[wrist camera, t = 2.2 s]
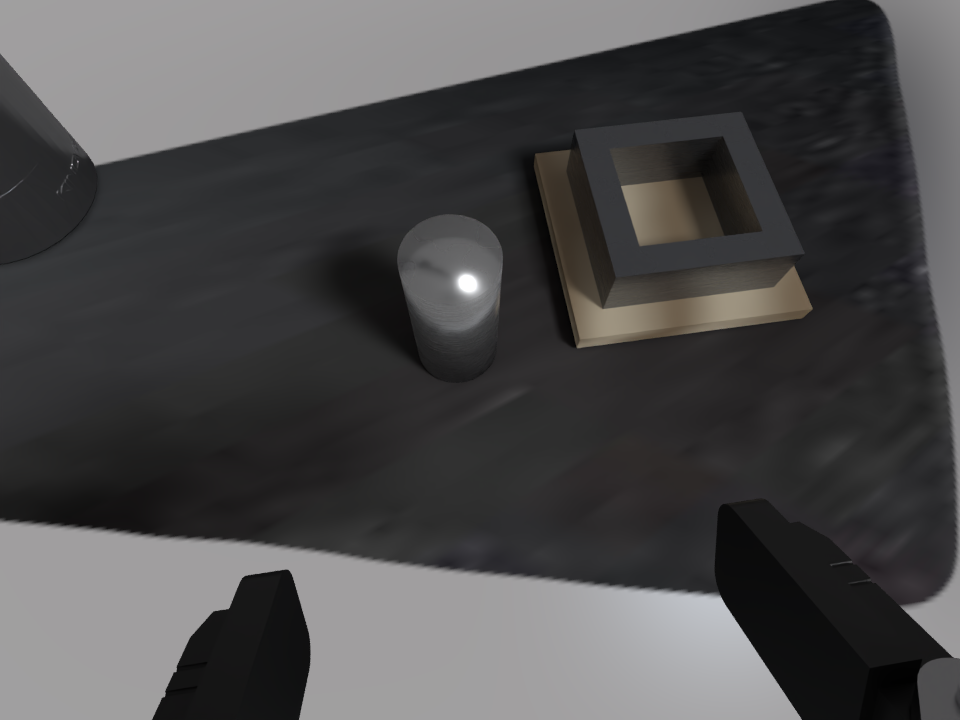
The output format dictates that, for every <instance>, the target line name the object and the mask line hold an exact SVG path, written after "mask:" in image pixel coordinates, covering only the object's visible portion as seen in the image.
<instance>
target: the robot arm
mask: <svg viewBox="0 0 960 720" xmlns="http://www.w3.org/2000/svg"><path fill="white" fill-rule="evenodd" d="M96 189H97V174H96V170H95V167H94V164H93V162H92V161H91V159H90V158H89V156H88V155H87V153H86V152H85V151H84V150H83V149H82V148H81V146H80V145H79V144H78V143H77V142H76V141H75V139H74V138H73V137H72V136H71V135H70V134H69V133H68V132H67V130H66V129H65V128H64V127H63V126H62V125H61V123H60V122H59V121H58V120H57V119H56V118H55V117H54V116H53V114H52V113H51V112H50V111H49V110H48V109H47V107H46V106H45V105H44V104H43V103H42V101H41V100H40V99H39V98H38V97H37V96H36V94H35V93H34V92H33V91H32V90H31V89H30V87H29V86H28V85H27V84H26V83H25V82H24V81H23V79H22V78H21V77H20V76H19V75H18V74H17V73H16V71H15V70H14V69H13V68H12V67H11V66H10V65H9V63H8V62H7V61H6V60H5V59H4V58H3V56H2V55H1V54H0V264H5V263H10V262H14V261H17V260H21V259H25V258H28V257H30V256H32V255H34V254H37V253H39V252H41V251H44V250H45V249H47V248H49V247H50V246H52V245H53V244H55V243H57V242H58V241H60V240H61V239H62V238H64V237H65V236H66V235H67V234H68V233H69V232H71V231H72V230H73V229H74V228H75V227H76V226H77V225H78V223H79V222H80V221H81V220H82V219H83V217H84V216H85V215H86V213H87V211H88V209H89V208H90V206H91V204H92V202H93V199H94V196H95V193H96ZM715 578H716V583H717V586H718V590H719V592H720V595H721V597H722V599H723V601H724V603H725V605H726V606H727V608H728V609H729V611H730V612H731V613H732V615H733V616H734V618H735V620H736V621H737V623H738V624H739V626H740V627H741V629H742V630H743V632H744V633H745V635H746V636H747V638H748V639H749V641H750V642H751V644H752V645H753V647H754V648H755V650H756V651H757V653H758V654H759V656H760V657H761V659H762V660H763V662H764V663H765V665H766V666H767V668H768V669H769V671H770V672H771V674H772V675H773V677H774V678H775V680H776V681H777V683H778V684H779V686H780V687H781V689H782V690H783V692H784V693H785V695H786V696H787V698H788V699H789V701H790V702H791V704H792V705H793V707H794V708H795V710H796V711H797V713H798V714H799V716H800V717H801V719H802V720H960V659H958V658H953V657H952V656H951V655H950V654H949V653H948V652H946V650H945V649H944V648H943V647H942V646H941V645H939V644H938V643H937V642H936V641H935V640H934V639H933V638H932V637H931V636H930V635H929V634H928V633H927V632H926V631H925V630H924V629H923V628H922V627H921V626H920V625H919V624H918V623H917V622H916V621H914V620H913V619H912V618H911V617H910V616H909V615H908V614H907V613H906V612H905V611H904V610H903V609H902V608H901V607H900V606H899V605H898V604H897V603H896V602H895V601H894V600H893V599H892V598H891V597H890V596H888V595H887V594H886V593H885V592H884V591H883V590H882V589H881V588H880V587H879V586H878V585H877V584H876V583H872V582H871V578H870V577H869V576H868V575H867V574H866V573H865V572H864V571H862V570H861V569H860V568H859V567H858V566H857V565H853V563H852V560H851V559H850V558H849V557H848V556H847V555H846V554H845V553H844V552H843V551H842V550H841V549H840V548H839V547H838V546H836V545H835V544H834V543H833V542H832V541H831V540H830V539H829V538H827V537H826V536H824V535H822V534H820V533H818V532H817V531H815V530H813V529H811V528H810V527H808V526H806V525H804V524H802V523H801V522H795V523H789V522H788V521H787V520H786V519H785V518H784V517H783V516H782V515H781V514H780V513H779V512H778V511H777V510H776V509H775V508H774V507H773V506H772V505H771V504H770V503H769V502H768V501H767V500H765V499H754V500H748V501H741V502H735V503H728V504H723V505H721V506H720V508H719V511H718V521H717V536H716V552H715ZM309 668H310V638H309V632H308V629H307V625H306V622H305V618H304V615H303V611H302V608H301V604H300V601H299V597H298V594H297V590H296V587H295V583H294V580H293V577H292V574H291V573H290V571H289V570H281V571H274V572H268V573H261V574H254V575H248V576H245V577H243V578H242V580H241V582H240V584H239V586H238V588H237V591H236V593H235V596H234V598H233V601H232V604H231V606H230V608H229V609H226V610H220V611H214V612H213V613H212V614H211V615H210V616H209V617H208V618H207V619H206V621H205V622H204V623H203V624H202V625H201V626H200V627H199V628H198V630H197V631H196V632H195V633H194V634H193V635H192V636H191V638H190V639H189V641H188V643H187V645H186V648H185V650H184V652H183V654H182V656H181V658H180V661H179V663H178V665H177V672H174V674H173V676H172V678H171V680H170V682H169V684H168V687H167V689H166V691H165V692H166V695H165V697H163V698H162V700H161V702H160V704H159V706H158V708H157V710H156V712H155V715H154V717H153V719H152V720H299V717H300V711H301V706H302V702H303V697H304V693H305V687H306V683H307V678H308V673H309Z"/></svg>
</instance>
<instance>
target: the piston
mask: <svg viewBox="0 0 960 720" xmlns="http://www.w3.org/2000/svg"><path fill="white" fill-rule="evenodd" d="M502 263H503V255H502V249H501V245H500V243H499V241H498V239H497V237H496V236H495V234H494V233H493V232H492V231H491V230H490V229H489V228H488V227H487V226H485V225H484V224H483V223H481V222H479V221H477V220H475V219H473V218H470V217H466V216H462V215H451V214H450V215H440V216H436V217H432V218H429V219H427V220H425V221H423V222H421V223H419V224H418V225H416V226H415V227H414V228H412V229H411V230H410V231H409V232H408V234H407V235H406V236H405V237H404V239H403V241H402V243H401V245H400V247H399V251H398V256H397V264H398V270H399V274H400V278H401V282H402V286H403V291H404V295H405V299H406V303H407V307H408V311H409V316H410V320H411V324H412V328H413V332H414V337H415V341H416V345H417V349H418V353H419V357H420V360H421V362H422V364H423V366H424V367H425V368H426V370H427V371H428V372H429V373H431V374H432V375H433V376H435V377H436V378H438V379H441V380H443V381H447V382H453V383H460V382H467V381H470V380H473V379H475V378H477V377H479V376H480V375H482V374H483V373H484V372H485V371H486V370H487V369H488V368H489V367H490V365H491V364H492V362H493V360H494V358H495V355H496V347H497V333H498V319H499V305H500V291H501V277H502Z"/></svg>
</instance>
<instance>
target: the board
mask: <svg viewBox="0 0 960 720" xmlns="http://www.w3.org/2000/svg"><path fill="white" fill-rule="evenodd" d="M569 155H570V150H564V151H555V152H546V153H537V154H535V161H534V169H535V173H536V177H537V182H538V186H539V190H540V194H541V198H542V203H543V207H544V211H545V215H546V220H547V224H548V228H549V232H550V237H551V241H552V245H553V249H554V254H555V258H556V262H557V266H558V271H559V275H560V279H561V283H562V288H563V292H564V296H565V300H566V305H567V309H568V313H569V317H570V322H571V326H572V330H573V334H574V338H575V343H576V347H577V348H582V347H589V346H597V345H604V344H612V343H619V342H627V341H634V340H642V339H650V338H657V337H665V336H672V335H680V334H687V333H695V332H702V331H710V330H717V329H725V328H732V327H740V326H747V325H755V324H762V323H770V322H777V321H785V320H792V319H800V318H803V317H804V316H805V315H806V314H808V313H809V312H810V311H811V310H812V306H811V304H810V302H809V299H808V297H807V295H806V292H805V290H804V288H803V285H802V283H801V281H800V279H799V276H798V274H797V272H796V269H795V267H794V266H793V267H792V268H791V269H790V270H789V271H788V272H787V273H786V275H785V276H784V277H783V278H782V279H781V280H780V281H779V282H778V283H777V284H776V285H775V286H774V287H771V288H764V289H756V290H748V291H740V292H733V293H725V294H717V295H709V296H702V297H694V298H686V299H678V300H671V301H663V302H655V303H647V304H640V305H632V306H624V307H617V308H609V309H603V308H602V304H601V301H600V297H599V293H598V289H597V286H596V282H595V278H594V274H593V270H592V267H591V263H590V259H589V255H588V251H587V248H586V244H585V240H584V236H583V233H582V229H581V225H580V221H579V217H578V214H577V210H576V206H575V202H574V198H573V195H572V191H571V187H570V183H569V179H568V176H567V172H566V170H567V165H568V160H569ZM621 188H622V191H623V194H624V197H625V201H626V204H627V207H628V210H629V214H630V217H631V220H632V223H633V226H634V230H635V233H636V236H637V239H638V243H639V246H647V245H655V244H663V243H671V242H679V241H688V240H696V239H704V238H712V237H720V236H724V233H723V230H722V228H721V225H720V223H719V220H718V217H717V215H716V212H715V210H714V207H713V204H712V202H711V199H710V197H709V194H708V191H707V189H706V186H705V184H704V181H703V178H702V177H695V178H687V179H678V180H669V181H661V182H652V183H644V184H635V185H626V186H621Z"/></svg>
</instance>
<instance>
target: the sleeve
mask: <svg viewBox="0 0 960 720" xmlns="http://www.w3.org/2000/svg"><path fill="white" fill-rule="evenodd" d="M566 172H567V176H568V179H569V183H570V187H571V191H572V195H573V198H574V202H575V206H576V210H577V214H578V217H579V221H580V225H581V229H582V233H583V236H584V240H585V244H586V248H587V251H588V255H589V259H590V263H591V267H592V270H593V274H594V278H595V282H596V286H597V289H598V293H599V297H600V301H601V304H602V308H603V309H609V308H617V307H624V306H632V305H640V304H647V303H655V302H663V301H671V300H678V299H686V298H694V297H702V296H709V295H717V294H725V293H733V292H740V291H748V290H756V289H764V288H771V287H774V286H775V285H776V284H777V283H778V282H779V281H780V280H781V279H782V278H783V277H784V276H785V275H786V273H787V272H788V271H789V270H790V269H791V268H792V267H793V266H794V265H795V264H796V263H797V262H798V261H799V260H800V258H801V257H802V256H803V255H804V254H805V253H804V251H803V249H802V246H801V244H800V242H799V240H798V237H797V235H796V233H795V231H794V228H793V226H792V224H791V222H790V220H789V217H788V215H787V213H786V211H785V208H784V206H783V204H782V202H781V199H780V197H779V195H778V193H777V190H776V188H775V186H774V184H773V181H772V179H771V177H770V175H769V172H768V170H767V168H766V166H765V163H764V161H763V159H762V157H761V155H760V152H759V150H758V148H757V146H756V143H755V141H754V139H753V137H752V134H751V132H750V130H749V128H748V125H747V123H746V121H745V119H744V116H743V114H742V112H735V113H726V114H717V115H708V116H699V117H689V118H680V119H671V120H662V121H653V122H644V123H635V124H626V125H616V126H607V127H598V128H589V129H580V130H574V135H573V140H572V145H571V150H570V155H569V160H568V165H567V170H566ZM695 177H702V178H703V181H704V184H705V186H706V189H707V191H708V194H709V197H710V199H711V202H712V204H713V207H714V210H715V212H716V215H717V217H718V220H719V223H720V225H721V228H722V230H723V233H724V236H720V237H712V238H704V239H696V240H688V241H679V242H671V243H663V244H655V245H647V246H639V243H638V239H637V236H636V233H635V230H634V226H633V223H632V220H631V217H630V214H629V210H628V207H627V204H626V201H625V197H624V194H623V191H622V188H621V186H626V185H635V184H644V183H652V182H661V181H669V180H678V179H687V178H695Z"/></svg>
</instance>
